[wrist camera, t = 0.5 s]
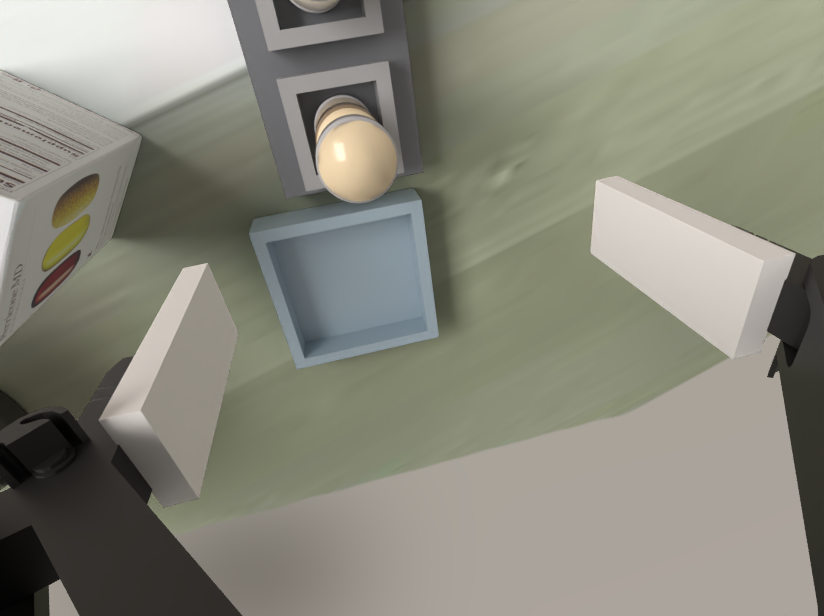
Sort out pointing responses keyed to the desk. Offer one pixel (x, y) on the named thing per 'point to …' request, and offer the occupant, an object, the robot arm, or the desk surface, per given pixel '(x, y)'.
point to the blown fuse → (353, 150)
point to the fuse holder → (326, 75)
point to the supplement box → (54, 193)
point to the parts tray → (348, 276)
